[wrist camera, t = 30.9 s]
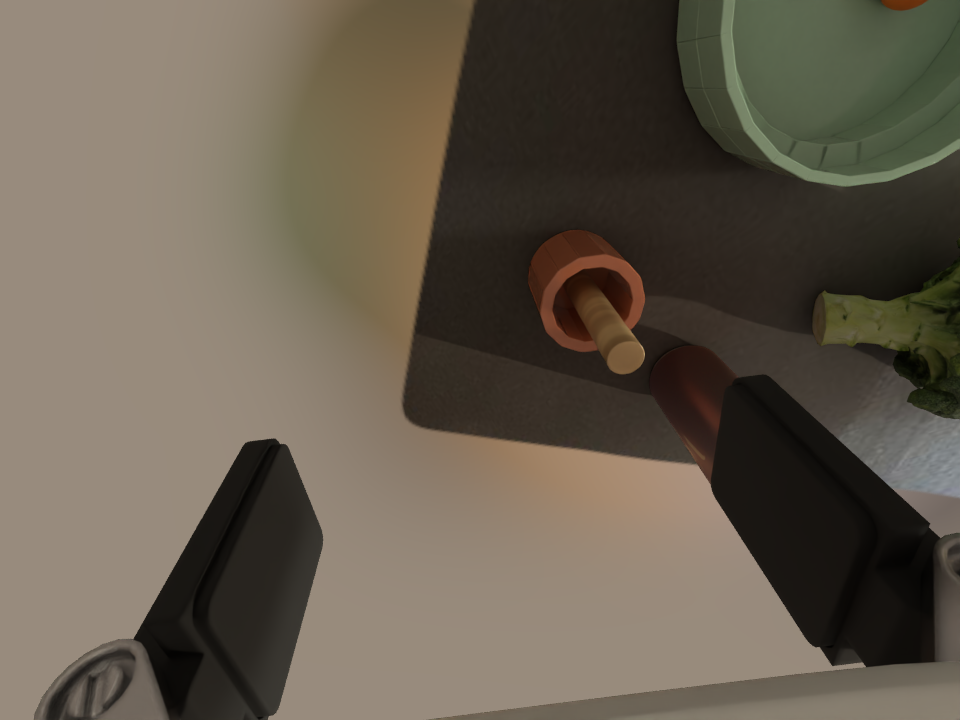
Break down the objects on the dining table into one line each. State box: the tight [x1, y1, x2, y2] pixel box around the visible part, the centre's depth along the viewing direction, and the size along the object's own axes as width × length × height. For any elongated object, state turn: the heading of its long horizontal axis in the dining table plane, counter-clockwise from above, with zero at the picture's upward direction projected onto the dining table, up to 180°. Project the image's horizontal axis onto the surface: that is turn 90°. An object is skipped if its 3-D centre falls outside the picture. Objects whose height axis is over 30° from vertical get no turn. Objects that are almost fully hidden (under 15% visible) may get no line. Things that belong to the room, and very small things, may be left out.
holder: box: [528, 230, 645, 352], centre depth 34 cm, size 7×7×6 cm
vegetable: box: [812, 238, 960, 419], centre depth 35 cm, size 12×13×15 cm
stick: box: [562, 269, 645, 374], centre depth 31 cm, size 2×2×12 cm
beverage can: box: [649, 346, 739, 484], centre depth 35 cm, size 6×6×15 cm
